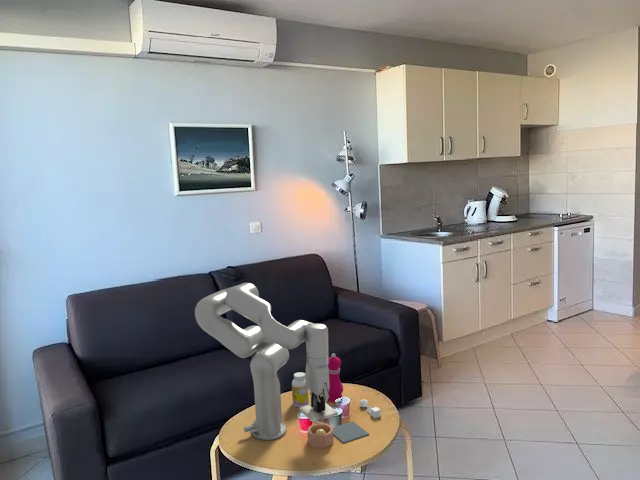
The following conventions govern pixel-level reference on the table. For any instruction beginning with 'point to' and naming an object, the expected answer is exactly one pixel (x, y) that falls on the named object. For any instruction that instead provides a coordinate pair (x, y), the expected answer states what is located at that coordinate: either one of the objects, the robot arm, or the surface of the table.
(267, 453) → the table surface
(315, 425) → the bowl
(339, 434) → the mat
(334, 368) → the pepper mill
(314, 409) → the lid
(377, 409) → the game pieces
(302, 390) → the supplement bottle
